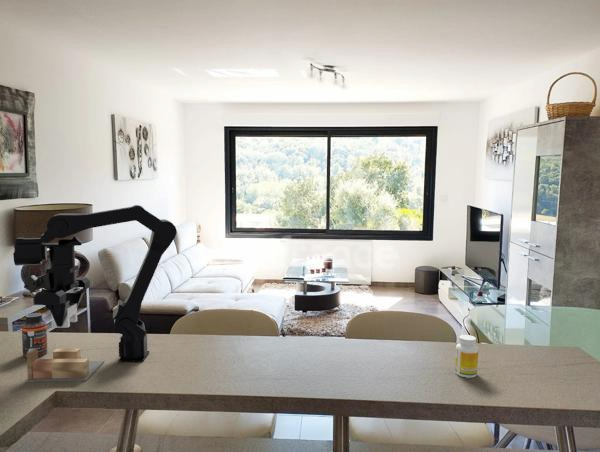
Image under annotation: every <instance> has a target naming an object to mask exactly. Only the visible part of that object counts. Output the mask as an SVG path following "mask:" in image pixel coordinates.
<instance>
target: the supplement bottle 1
mask: <svg viewBox="0 0 600 452" xmlns="http://www.w3.org/2000/svg"><path fill="white" fill-rule="evenodd" d="M24 321H25V322H24V323H22V325H21V340H22V342H21V343H22V345H21V346H22V355H23V357H24V358H27V353H28V352H29V351H31V350H32V349H37V352H38V358H39V357H43V356H44V355H46V354H47V353H48V333H47V322H46V321H45V320H43V314H42V313H40V312H34V313H28V314H26V315H25V319H24Z"/></svg>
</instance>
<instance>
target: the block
mask: <svg viewBox="0 0 600 452" xmlns="http://www.w3.org/2000/svg"><path fill="white" fill-rule="evenodd" d="M89 361H90V359H89V358H82V357H81V348H77V347H75V348H73V347H72V348H56V349H54V350H53V351H52V358H39V357H38V352H37V349H32V350H31V351H29V352H28V353H27V357H26V364H27V365H26V367H27V380H28V379H38V378H86V377H87V376H88V375H89Z"/></svg>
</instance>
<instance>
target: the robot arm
mask: <svg viewBox="0 0 600 452" xmlns="http://www.w3.org/2000/svg"><path fill="white" fill-rule="evenodd" d="M135 221H136V222H138V223H140V224H141V225H142V226H144V227H145V228H146V229H148V230H149V231H151V234H150V239H149V245H148V249H147V252H146V254H145V256H144V257H143V258H144V259H143V260H142V263H141V265H140V268H139V269H138V272H137V274H136V277H135V279H134V281H133V284H132V287H131V288H130V291H129V293H128V295H127V297H126V298H125V299H124V300H121V299H118V301H117V305H116V308H115V309H114V311H113V312H112V320H113V326H114V329H115V331H116V332H117V333H118V334H120V335H121V336H120V337H119V339H120V340H119V342H118V356H119V357H118V362H121V363H123V362H126V363H128V362H139V363H140V362H144V361H145V359H146V358H147V357H148V356H149V355H150V351H149V350H148V333H147V330H146V327H145V323H144V322H143V321H142V320H141V319H140V313H141V309H142V304H143V300H144V298H145V296H146V294H147V291H148V289H149V287H150V284H151V281H152V280H153V277H154V275H155V272H156V270H157V268H158V266H159V263H160V261H161V258H162V256H163V255H164V254H165V252H166V251H167V250H168V248H169V247H170V246H171V244H172V243H173V241H174V240H175V238H176V236H177V228H176V226H175V225H174V223H172V222H171V221H170V220H168V219H166V218H165V219H163V218H162V219H161V218H158V217H157V216H156V215H154V214H152V213H151V212H149V211H148V210H146V209H145V208H144V207H143V206H141V205H138V204H134V205H131V206H128V207H126V206H125V207H121V208H116V209H108V210H101V211H97V212H95V211H94V212H90V213H89V212H88V213H76V212H75V213H72V212H71V213H67V212H66V213H65V212H64V213H57V214H55V215H52V216H51V217H50V218H49V220H48V221H47V224H46V230H45V232H44V233H42V234H41V235H40V237H30V238H29V237H27V238H26V237H17V238H15V241H14V249H13V250H14V251H13V253H12V254H13V263H14V266H18V267H19V266H33V265H34V266H36V265H42V264H43V261H47V259H48V257H49V267H48V268H46V270H45V274H42V275H40V276H36V275H34V274H33V275H29V276H27V277H25V278H24V282H23V283H24V284H23V288H24V289H25V290H27V291H29V293H30V294H32V293H35V292H36V291H37V292H36V293H35V294H34V295H33V296H32V304H33V306H45V307H47V308H48V309H49V311H50V314H51V313H52V315H53V318H54V320H55V323H56V325H57V327H61V326H62V325H63V322H64V319H65V315H66V312H67V308H68V305H69V303H77V308H78V307H79V304H80V303H81V301H82V299H83V296H84V294H85V293H86V290H87V289H89V288H91V280H90V279H89V278H87V277H86V276H83V277H82V276H79V277H78V276H76V271H77V270H78V271H79V265H77V264H76V261H75V259H76V256H75V255H76V254H75V246H76V247H77V246H79V247H80V246H82V245H83V240H81V239H79V238H78V237H77V235H76V234H78V233H80V232H83V231H85V230H89V229H93V228H99V227H104V226H110V225H117V224H121V223H127V222H135ZM69 236H73V237H72V238H66V237H69ZM56 238H57V239H58V242H52V241H53V240H55V239H56ZM47 247H48V248H47ZM48 252H49V253H48ZM48 254H49V256H48ZM43 288H44V289H43ZM81 288H83V290H81ZM41 289H42V290H41ZM39 290H40V291H39Z"/></svg>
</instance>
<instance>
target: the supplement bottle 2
mask: <svg viewBox="0 0 600 452" xmlns="http://www.w3.org/2000/svg"><path fill="white" fill-rule="evenodd" d="M458 341H459V343H457V344H456V346H455V356H454V357H455V358H454V359H455V360H454V373H455V374H456V375H457V376H459V377H463V378H467V379H471V378H475V377H476V376H477V375H478V362H479V347H478V346H477V345H476V344H477V338H476V337H475V336H473V335H469V334H461V335H459V338H458Z"/></svg>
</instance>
